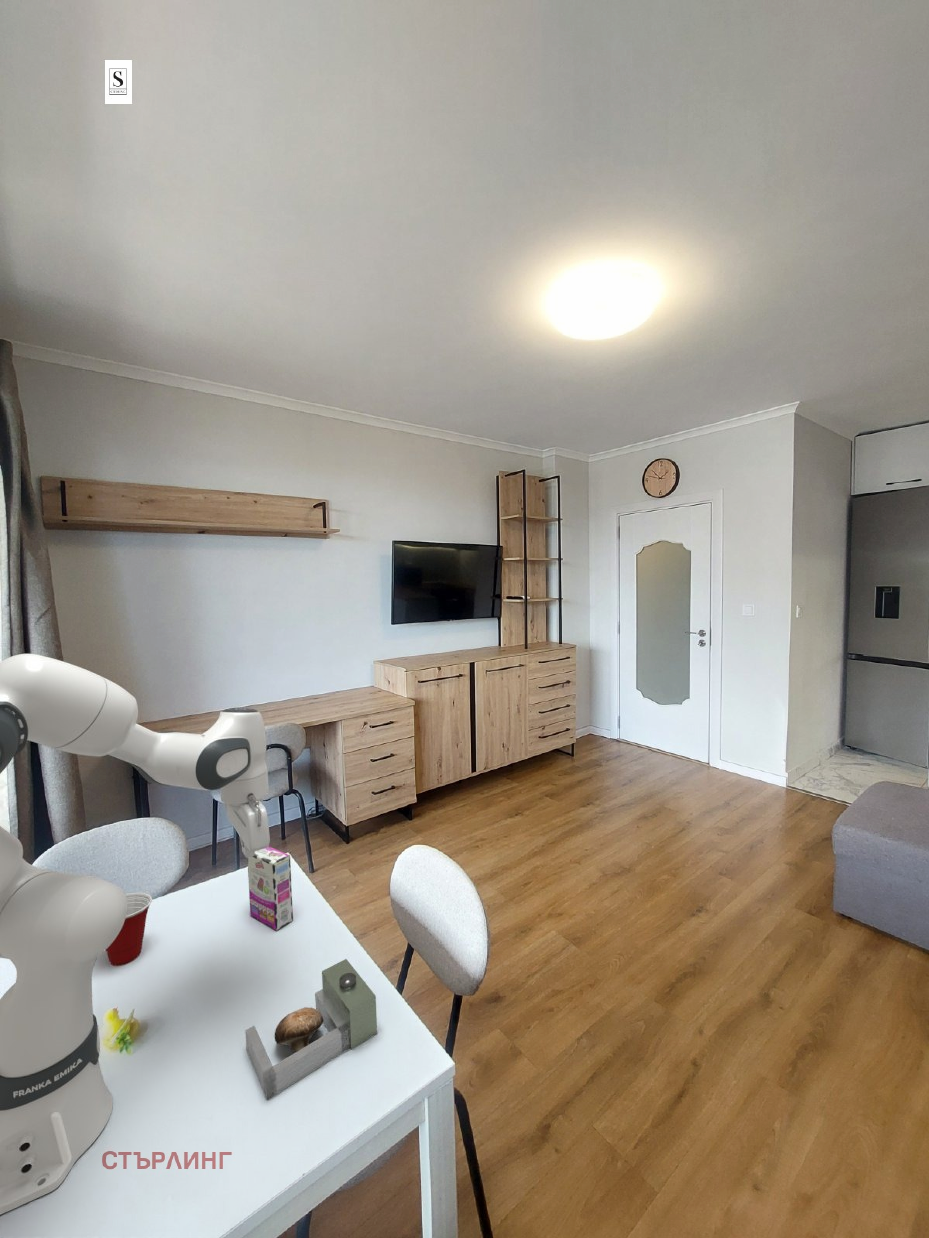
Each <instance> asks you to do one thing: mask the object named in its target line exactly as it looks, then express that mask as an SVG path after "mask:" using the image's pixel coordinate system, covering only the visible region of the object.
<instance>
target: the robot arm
mask: <svg viewBox="0 0 929 1238" xmlns="http://www.w3.org/2000/svg"><path fill="white" fill-rule="evenodd" d="M138 717H139V706H138V702H137V699H136V697H135V696H133V694H131V693H130V692H128V691H127V690H126V689H125V688H124V687H122V686H120V685H119V684H117V683H116V682H113V681H112V680H110V679H108V678H105V677H103V676H102V675H99V674H97V673H94V672H92V671H91V670H88V669H85V668H83V667H80V666H77V665H75V664H72V663H68V662H66V661H62V660H59V659H56V658H53V657H48V656H44V655H41V654H36V653H20V654H16V655H12V656H9V657H8V658H5V659H3V660H1V661H0V775H1V774H2V773H3V771H4V770H5V769H6V768H7V767H8V766H9V764H10V763H11V761H12V759H13V758H14V757H15V756H16V755H17V756H18V754H20V753H21V752H22V751H23V750H24V749H25V747H26V746H27V743H28V741H29V742H33V743H36V744H39V745H42V746H45V747H48V748H51V749H54V750H57V751H61V752H65V753H69V754H70V753H71V754H75V755H80V756H89V757H104V756H109V757H111V758H113V759H114V758H115V759H116V760H119V761H121V762H125V763H127V764H129V765H131V767H133V768H134V769H136V771H137V772H138V773H139V774H140V776H141V777H142V778H144V780H145V781H147V782H148V783H150V784H153V785H155V786H169V787H170V786H173V787H180V788H181V787H182V788H185V789H194V790H201V791H214V790H219V792H220V801H221V802H222V803H224V809H225V812H226V813H225V814H226V817H227V819H228V820H229V822H230V823H231V825H232V826H233V828H234V830H236V832H237V834H238V835H239V840H240V844H241V852H242V854H243V855H244V857H245V858H246V859H248V858H250V857H253V856H254V855H255V851H258V850H261V849H264V848H267V847H268V846H269V847H270V843H271V837H270V827H269V817H268V812H267V808H266V807H265V805H264V804H263V798H264V797H266V796H267V795H268V794H269V793H270V792H269V791H270V790H269V789H270V787H269V774H268V773H269V771H268V764H267V762H266V752H267V736H266V728H265V722H264V719H263V715H262V714H261V712H260V711H259V710H256V709H254V708H244V707H243V708H238V707H237V708H236V707H235V708H232V707H231V708H224V709H223V710H221V711H220V712H219V716H218V719H217V720H216V722H215V723H214V724H213V725H212V726H211V727H210V728H208V729H207V730H206V731H205V732H203V733H201V734H199V733H191V732H190V733H187V732H183V731H177V730H161V731H154V730H151V729H149V728H146V727H145V726H142V725H141V724H138V723H137V722H138ZM21 739H22V742H21ZM23 856H24V849H23V844H22V842H21V841H20V839H19V838H17V836H15V835H13V834H12V833H11V832H9V831H8V830H7V829H5V828H3V827H2V826H0V958H1V959H7V960H9V961H10V962H11V963H12V964H13V965H14V967H15V971H16V979H15V982H14V983H13V984H12V985H11V986H10V987H9V989H7V990H6V991H5V992H4V993H3V995H2V996H1V997H0V1215H3V1214H5V1213H7V1212H9V1211H12V1210H14V1209H16V1208H18V1207H21V1206H24V1205H25V1204H27V1203H30V1202H31V1201H34V1200H36V1199H38V1198H41V1197H42V1196H45V1195H46V1194H49V1193H51V1192H54V1191H55V1190H56V1189H57V1188H58V1187H59V1186H60V1185H61V1184H63V1182H64V1180H65V1179H66V1178H67V1176H68V1175H69V1173H70V1171H71V1169H72V1168H73V1166H74V1164H75V1163H76V1162H77V1160H79V1158H80V1157H81V1156H82V1155H83V1154H84V1153H85V1152H86V1151H87V1150H88V1149H89V1147H91V1145H92V1144H93V1143H94V1142H95V1141H96V1140H97V1138H98V1137H99V1136H100V1134H101V1133H102V1131H103V1130H104V1128H105V1127H106V1125H107V1123H108V1121H109V1119H110V1117H111V1114H112V1110H113V1103H114V1101H113V1096H112V1093H111V1092H110V1090H109V1089H108V1087H107V1084H106V1082H105V1080H104V1077H103V1073H102V1068H101V1065H100V1061H99V1059H100V1053H101V1044H100V1043H101V1042H100V1040H101V1039H100V1038H101V1037H100V1031H99V1030H100V1028H99V1024H98V1021H97V1017H96V1015H95V1014H94V1011H93V1010H94V1009H93V1008H94V1007H93V984H92V983H93V972H94V971H93V970H94V967H95V963H96V960H97V959H98V957H99V956H100V955H102V954H103V953H104V952H106V949H107V948H108V947H109V946H110V945H111V944H112V942H113V941H114V940H115V939H116V937H117V936H118V934H119V932H120V930H121V928H122V926H123V924H124V921H125V918H126V913H127V899H126V895H125V894H126V893H125V891H124V890H123V889H122V888H121V887H119V885H116V884H114V883H111V882H110V881H108V880H105V879H102V878H99V877H97V876H93V875H88V874H87V875H86V874H78V873H68V872H58V871H53V870H49V869H45V868H42V867H38V866H35V865H33V864H30V863H29V862H27V860H26V859H24V857H23Z"/></svg>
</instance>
